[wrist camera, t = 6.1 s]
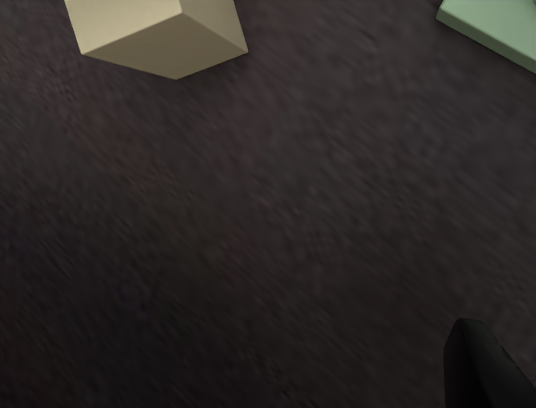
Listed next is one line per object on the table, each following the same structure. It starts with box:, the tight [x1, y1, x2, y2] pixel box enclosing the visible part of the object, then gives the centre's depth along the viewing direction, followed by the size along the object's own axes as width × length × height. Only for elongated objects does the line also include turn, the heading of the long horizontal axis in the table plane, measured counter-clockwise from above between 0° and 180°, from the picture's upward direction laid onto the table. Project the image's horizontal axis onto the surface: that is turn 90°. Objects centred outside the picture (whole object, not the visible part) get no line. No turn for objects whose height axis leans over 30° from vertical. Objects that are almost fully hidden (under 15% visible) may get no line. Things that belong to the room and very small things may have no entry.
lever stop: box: [64, 0, 248, 80], centre depth 18 cm, size 4×4×7 cm
